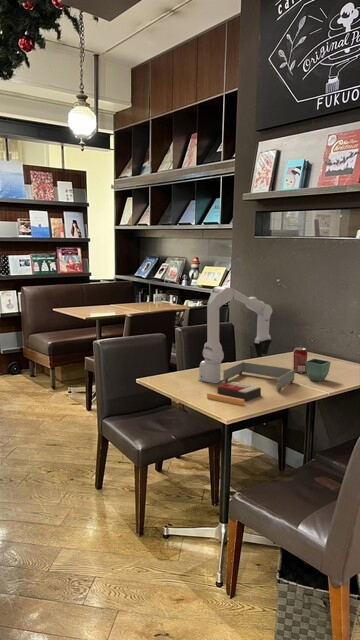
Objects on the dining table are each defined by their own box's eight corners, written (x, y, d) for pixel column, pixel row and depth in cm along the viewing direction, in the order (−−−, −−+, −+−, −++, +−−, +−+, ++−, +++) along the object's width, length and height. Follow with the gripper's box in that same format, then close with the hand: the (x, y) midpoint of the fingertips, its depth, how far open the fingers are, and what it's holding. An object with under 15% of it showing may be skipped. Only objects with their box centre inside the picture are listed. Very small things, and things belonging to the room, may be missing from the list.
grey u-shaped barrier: (223, 382, 212) (223, 369, 212) (241, 373, 229) (242, 361, 228) (278, 392, 198) (279, 379, 197) (294, 381, 214) (294, 369, 213)
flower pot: (321, 383, 213) (322, 364, 211) (304, 379, 218) (305, 361, 217) (330, 379, 219) (331, 361, 218) (312, 376, 225) (313, 358, 224)
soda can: (306, 373, 230) (308, 350, 228) (292, 372, 231) (293, 349, 229) (305, 370, 236) (307, 347, 234) (292, 369, 237) (293, 346, 236)
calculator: (232, 380, 204) (261, 386, 193) (232, 390, 204) (261, 396, 194) (216, 385, 196) (245, 391, 185) (217, 395, 196) (245, 402, 186)
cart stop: (207, 398, 189) (207, 393, 189) (208, 397, 191) (209, 392, 190) (242, 405, 181) (242, 400, 180) (244, 404, 182) (244, 399, 182)
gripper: (264, 330, 217) (263, 359, 219) (276, 327, 229) (275, 353, 231) (251, 329, 220) (250, 357, 222) (263, 325, 232) (262, 352, 234)
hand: (262, 355), depth 227 cm, fingers open, 6 cm apart
